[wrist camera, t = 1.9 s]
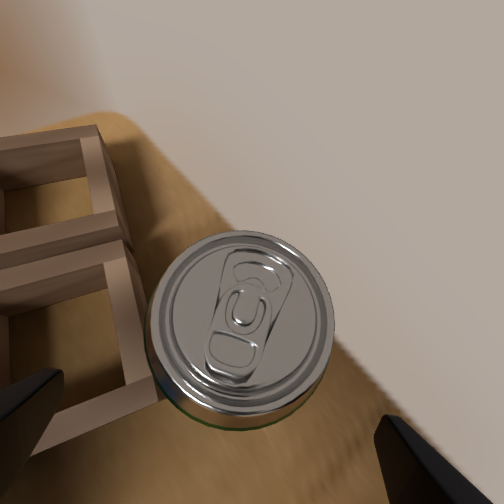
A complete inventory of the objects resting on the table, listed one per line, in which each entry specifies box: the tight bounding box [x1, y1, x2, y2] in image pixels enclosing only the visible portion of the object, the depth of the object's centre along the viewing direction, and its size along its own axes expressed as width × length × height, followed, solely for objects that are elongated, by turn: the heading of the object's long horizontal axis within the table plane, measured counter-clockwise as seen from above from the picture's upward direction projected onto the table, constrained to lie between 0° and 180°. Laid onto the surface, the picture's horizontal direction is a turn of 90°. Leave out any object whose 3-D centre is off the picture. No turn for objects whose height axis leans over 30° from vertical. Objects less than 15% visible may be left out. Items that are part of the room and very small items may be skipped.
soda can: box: [143, 231, 335, 431], centre depth 11 cm, size 5×5×12 cm
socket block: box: [0, 124, 166, 457], centre depth 15 cm, size 19×10×6 cm, turn 22°
